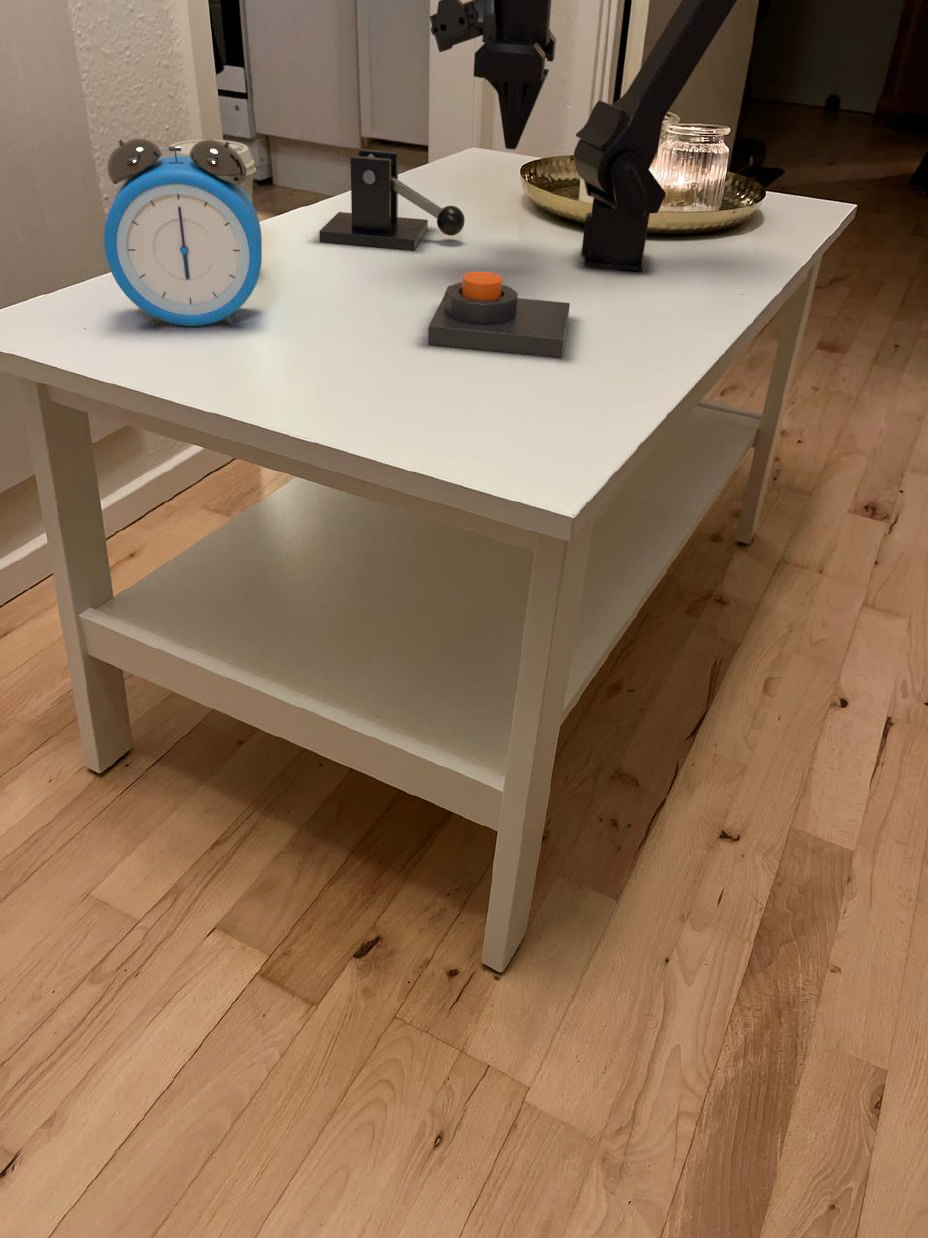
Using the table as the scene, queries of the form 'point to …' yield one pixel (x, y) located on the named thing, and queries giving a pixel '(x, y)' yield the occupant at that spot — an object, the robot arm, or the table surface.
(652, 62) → the robot arm
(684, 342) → the table surface
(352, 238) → the bracket
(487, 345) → the button block
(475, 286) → the button
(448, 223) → the lever
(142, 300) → the alarm clock
